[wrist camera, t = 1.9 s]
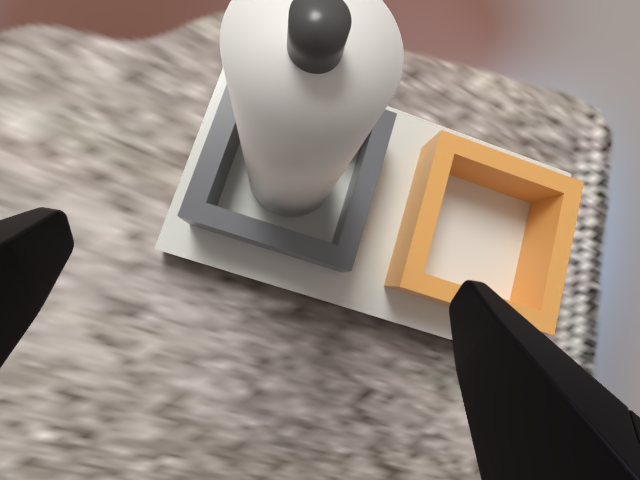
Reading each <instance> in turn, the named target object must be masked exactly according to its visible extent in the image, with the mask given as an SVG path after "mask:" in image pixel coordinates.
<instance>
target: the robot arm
mask: <svg viewBox="0 0 640 480" xmlns="http://www.w3.org/2000/svg"><path fill="white" fill-rule="evenodd" d="M73 247H74V240H73V236H72V233H71V229H70V226H69V222H68V219H67V216H66V214H65V213H64V212H63V211H61V210H56V209H51V208H44V207H40V208H36V209H33V210H30V211H27V212H24V213H21V214H18V215H15V216H12V217H9V218H5V219H2V220H0V368H1V366H2V365H3V363H4V362H5V360H6V359H7V358H8V356H9V355H10V353H11V352H12V350H13V349H14V348H15V346H16V345H17V343H18V342H19V341H20V339H21V338H22V336H23V335H24V333H25V332H26V331H27V329H28V328H29V326H30V325H31V323H32V322H33V320H34V319H35V317H36V316H37V314H38V313H39V311H40V310H41V308H42V306H43V304H44V303H45V301H46V299H47V297H48V295H49V294H50V292H51V290H52V288H53V286H54V284H55V283H56V281H57V279H58V277H59V275H60V273H61V271H62V270H63V268H64V266H65V264H66V262H67V260H68V259H69V257H70V255H71V253H72V251H73ZM449 316H450V325H451V333H452V341H453V350H454V358H455V365H456V371H457V376H458V380H459V385H460V389H461V393H462V398H463V402H464V406H465V411H466V415H467V419H468V424H469V428H470V432H471V436H472V441H473V445H474V449H475V454H476V458H477V462H478V467H479V471H480V475H481V480H640V417H639V416H637V415H636V414H635V413H634V412H633V411H630V410H629V409H628V407H627V406H626V405H625V404H623V403H622V402H621V401H620V400H619V399H618V398H616V397H615V396H614V395H613V394H612V393H611V392H610V391H609V390H607V389H606V388H605V387H604V386H603V385H602V384H600V383H599V382H598V381H597V380H596V379H595V378H594V377H592V376H591V375H590V374H589V373H588V372H587V371H586V370H584V369H583V368H582V367H581V366H580V365H579V364H577V363H576V362H575V361H574V360H573V359H572V358H571V357H569V356H568V355H567V354H566V353H565V352H564V351H562V350H561V349H560V348H559V347H558V346H557V345H556V344H554V343H553V342H552V341H551V340H550V339H549V338H547V337H546V336H545V335H544V334H543V333H542V332H541V331H539V330H538V329H537V328H536V327H535V326H534V325H533V324H531V323H530V322H529V321H528V320H527V319H526V318H524V317H523V316H522V315H521V314H520V313H519V312H518V311H516V310H515V309H514V308H513V307H512V306H511V305H510V304H508V303H507V302H506V301H505V300H504V299H503V298H501V297H500V296H499V295H498V294H497V293H496V292H495V291H493V290H492V289H491V288H490V287H489V286H488V285H486V284H485V283H483V282H480V281H474V280H466V281H465V282H463V284H462V285H461V287H460V288H459V290H458V291H457V293H456V294H455V296H454V297H453V299H452V301H451V303H450V306H449Z"/></svg>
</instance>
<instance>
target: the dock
mask: <svg viewBox="0 0 640 480" xmlns="http://www.w3.org/2000/svg"><path fill="white" fill-rule="evenodd" d="M583 183H584V182H582V181H579V180H577V179H574V178H571V174H570V173H568V172H565V171H562V170H560V169H557V168H554V167H551V166H549V165H546V164H543V163H541V162H538V161H535V160H532V159H530V158H527V157H524V156H522V155H519V154H516V153H513V152H511V151H508V150H505V149H503V148H500V147H497V146H494V145H492V144H489V143H486V142H484V141H481V140H478V139H475V138H473V137H470V136H467V135H465V134H462V133H459V132H456V131H454V130H451V129H448V128H446V127H443V126H440V125H437V124H435V123H432V122H429V121H427V120H424V119H421V118H418V117H416V116H413V115H410V114H408V113H405V112H402V111H399V110H397V109H394V108H391V107H389V106H387V107H386V109H385V110H384V112H383V113H382V115H381V116H380V118H379V119H378V121H377V123H376V124H375V126H374V127H373V129H372V130H371V132H370V133H369V135H368V136H367V138H366V139H365V141H364V142H363V144H362V145H361V147H360V148H359V150H358V151H357V153H356V154H355V156H354V157H353V159H352V160H351V162H350V163H349V165H348V166H347V168H346V169H345V171H344V172H343V174H342V175H341V177H340V178H339V180H338V181H337V183H336V184H335V186H334V187H333V189H332V190H331V192H330V193H329V195H328V196H327V198H326V199H325V201H324V202H323V203H322V205H321V206H320V207H318V208H317V209H316V210H315V211H313V212H311V213H309V214H307V215H304V216H300V217H283V216H279V215H277V214H274V213H272V212H270V211H268V210H267V209H266V208H264V207H263V206H262V205H261V204H260V203H259V202H258V200H257V199H256V198H255V196H254V194H253V192H252V190H251V186H250V182H249V178H248V174H247V169H246V165H245V160H244V156H243V152H242V147H241V143H240V139H239V134H238V130H237V125H236V121H235V117H234V112H233V108H232V103H231V99H230V95H229V90H228V86H227V82H226V77H225V73H224V68H223V69H222V72H221V75H220V77H219V80H218V82H217V85H216V88H215V90H214V93H213V96H212V98H211V101H210V104H209V106H208V109H207V111H206V114H205V117H204V119H203V122H202V125H201V127H200V130H199V132H198V135H197V138H196V140H195V143H194V146H193V148H192V151H191V153H190V156H189V159H188V161H187V164H186V167H185V169H184V172H183V175H182V177H181V180H180V182H179V185H178V188H177V190H176V193H175V196H174V198H173V201H172V203H171V206H170V209H169V211H168V214H167V217H166V219H165V222H164V224H163V227H162V230H161V232H160V235H159V238H158V240H157V243H156V245H155V248H154V249H156V250H160V251H163V252H166V253H169V254H173V255H176V256H179V257H182V258H186V259H189V260H192V261H195V262H199V263H202V264H205V265H209V266H212V267H215V268H218V269H222V270H225V271H228V272H231V273H235V274H238V275H241V276H244V277H248V278H251V279H254V280H258V281H261V282H264V283H267V284H271V285H274V286H277V287H280V288H284V289H287V290H290V291H293V292H297V293H300V294H303V295H307V296H310V297H313V298H316V299H320V300H323V301H326V302H329V303H333V304H336V305H339V306H342V307H346V308H349V309H352V310H356V311H359V312H362V313H365V314H369V315H372V316H375V317H378V318H382V319H385V320H388V321H391V322H395V323H398V324H401V325H405V326H408V327H411V328H414V329H418V330H421V331H424V332H427V333H431V334H434V335H437V336H440V337H444V338H447V339H450V340H452V333H451V325H450V316H449V306H450V303H451V301H452V299H453V297H454V296H455V294H456V293H457V291H458V290H459V288H460V287H461V285H462V284H463V282H465V281H466V280H474V281H480V282H483V283H485V284H486V285H488V286H489V287H490V288H491V289H492V290H493V291H495V292H496V293H497V294H498V295H499V296H500V297H501V298H503V299H504V300H505V301H506V302H507V303H508V304H510V305H511V306H512V307H513V308H514V309H515V310H516V311H518V312H519V313H520V314H521V315H522V316H523V317H524V318H526V319H527V320H528V321H529V322H530V323H531V324H533V325H534V326H535V327H536V328H537V329H538V330H539V331H541V332H542V333H544V334H549V335H554V333H555V328H556V323H557V318H558V313H559V307H560V302H561V297H562V292H563V287H564V282H565V276H566V271H567V266H568V261H569V256H570V251H571V245H572V240H573V235H574V230H575V225H576V220H577V214H578V209H579V204H580V199H581V194H582V189H583Z"/></svg>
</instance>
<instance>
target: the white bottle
mask: <svg viewBox="0 0 640 480" xmlns="http://www.w3.org/2000/svg"><path fill="white" fill-rule="evenodd" d="M220 53H221V60H222V64H223V68H224V73H225V77H226V82H227V86H228V90H229V95H230V99H231V103H232V108H233V112H234V117H235V121H236V125H237V130H238V134H239V139H240V143H241V147H242V152H243V156H244V160H245V165H246V169H247V174H248V178H249V182H250V186H251V190H252V192H253V194H254V196H255V198H256V199H257V200H258V202H259V203H260V204H261V205H262V206H263V207H264V208H266V209H267V210H268V211H270V212H272V213H274V214H277V215H279V216H283V217H300V216H304V215H307V214H309V213H311V212H313V211H315V210H316V209H317V208H318V207H320V206H321V205H322V203H323V202H324V201H325V199H326V198H327V196H328V195H329V193H330V192H331V190H332V189H333V187H334V186H335V184H336V183H337V181H338V180H339V178H340V177H341V175H342V174H343V172H344V171H345V169H346V168H347V166H348V165H349V163H350V162H351V160H352V159H353V157H354V156H355V154H356V153H357V151H358V150H359V148H360V147H361V145H362V144H363V142H364V141H365V139H366V138H367V136H368V135H369V133H370V132H371V130H372V129H373V127H374V126H375V124H376V123H377V121H378V119H379V118H380V116H381V115H382V113H383V112H384V110H385V109H386V107H387V106H388V104H389V103H390V101H391V100H392V98H393V96H394V94H395V93H396V91H397V88H398V86H399V83H400V80H401V76H402V72H403V63H404V53H403V44H402V39H401V35H400V32H399V29H398V26H397V24H396V22H395V19H394V17H393V15H392V14H391V13H390V11H389V9H388V7H387V6H386V5H385V3H384V2H383V1H382V0H231V2H230V4H229V6H228V8H227V10H226V12H225V14H224V18H223V21H222V24H221V31H220Z"/></svg>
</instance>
